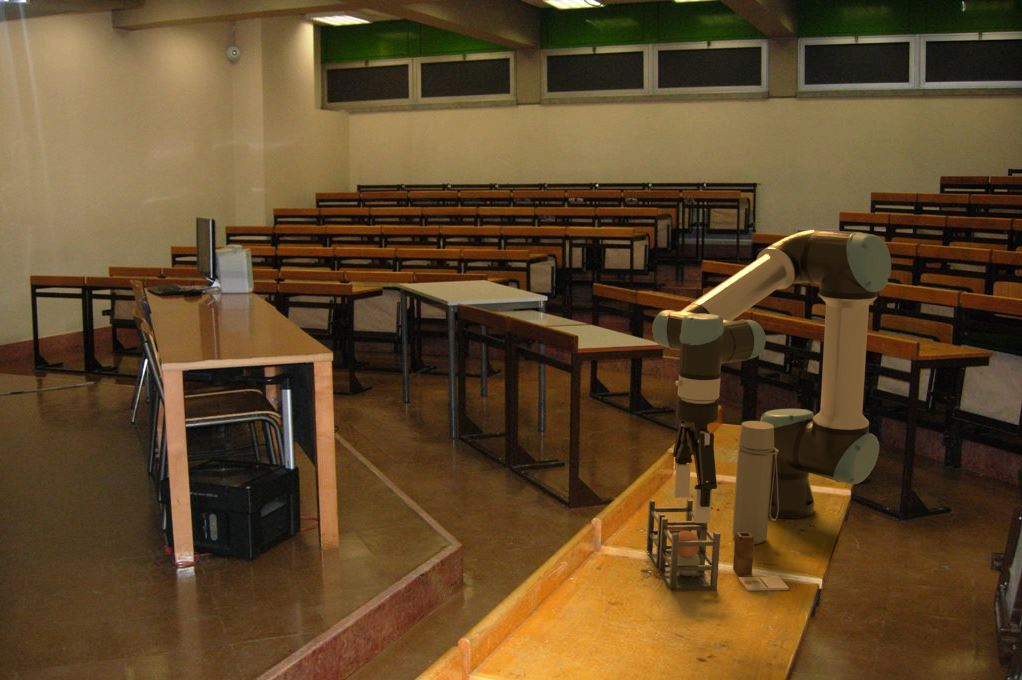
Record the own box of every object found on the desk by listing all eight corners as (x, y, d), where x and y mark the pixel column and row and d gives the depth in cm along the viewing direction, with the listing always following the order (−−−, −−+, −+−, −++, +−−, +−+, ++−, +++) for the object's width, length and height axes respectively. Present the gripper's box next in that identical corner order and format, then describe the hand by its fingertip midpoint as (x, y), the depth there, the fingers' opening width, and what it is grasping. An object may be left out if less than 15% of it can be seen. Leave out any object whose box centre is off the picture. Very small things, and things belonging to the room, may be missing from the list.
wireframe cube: (688, 550, 200) (691, 499, 198) (701, 567, 192) (704, 514, 190) (646, 551, 199) (649, 499, 197) (657, 568, 191) (660, 515, 189)
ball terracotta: (694, 526, 186) (694, 527, 181) (703, 552, 185) (703, 554, 180) (669, 534, 186) (668, 535, 181) (677, 560, 185) (677, 562, 180)
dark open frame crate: (702, 570, 190) (706, 516, 188) (716, 589, 182) (720, 533, 180) (658, 571, 190) (661, 517, 188) (670, 590, 181) (673, 534, 179)
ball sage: (696, 574, 188) (695, 547, 189) (704, 577, 183) (703, 549, 184) (671, 574, 188) (670, 548, 188) (677, 577, 183) (677, 550, 184)
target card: (778, 578, 188) (778, 576, 187) (788, 589, 183) (788, 587, 183) (738, 579, 187) (738, 576, 187) (747, 590, 182) (747, 588, 182)
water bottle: (729, 543, 205) (736, 427, 200) (734, 530, 212) (741, 418, 208) (774, 549, 202) (783, 432, 197) (777, 536, 209) (786, 423, 204)
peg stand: (746, 568, 192) (749, 531, 190) (751, 574, 189) (754, 537, 188) (732, 568, 192) (735, 532, 190) (737, 574, 189) (740, 537, 187)
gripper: (660, 383, 191) (655, 487, 195) (697, 416, 167) (690, 534, 171) (698, 383, 192) (692, 487, 196) (740, 415, 168) (732, 533, 171)
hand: (691, 509), depth 183 cm, fingers open, 13 cm apart
